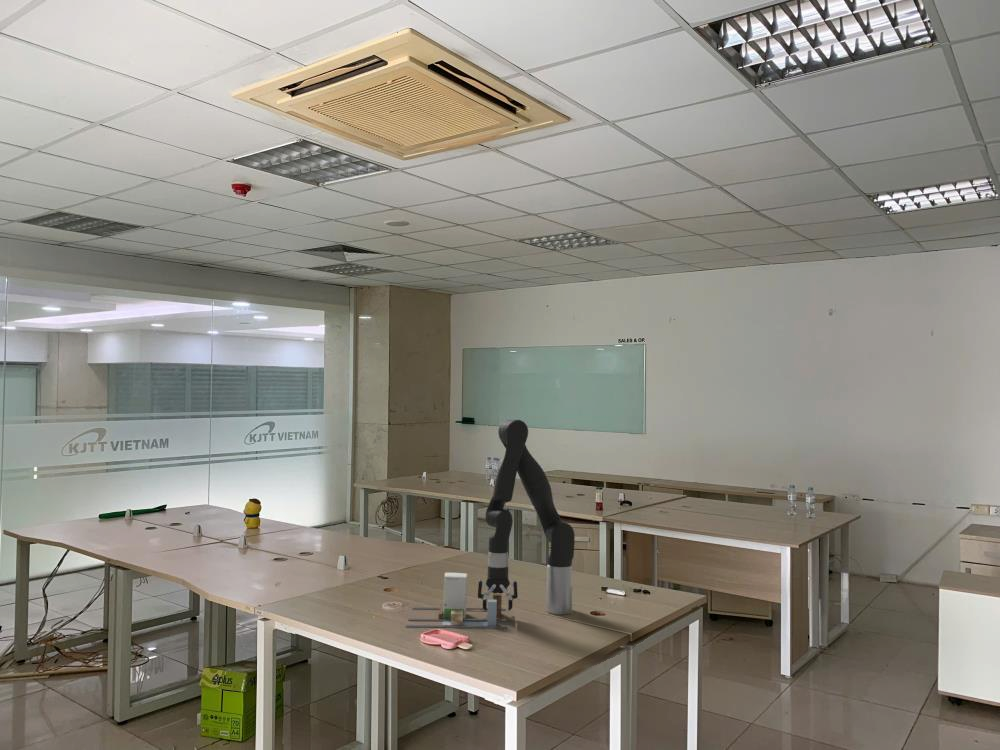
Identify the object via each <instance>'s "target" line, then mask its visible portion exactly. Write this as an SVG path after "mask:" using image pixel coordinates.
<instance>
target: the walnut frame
mask: <svg viewBox="0 0 1000 750" xmlns="http://www.w3.org/2000/svg"><path fill="white" fill-rule="evenodd" d="M502 597H503V596H502V594H501V593H492V600H497V613H496V619H501V618H502V610H501V608H502V605H503V603H502V601H503V600H502ZM439 607H440V610H438V611H439V612H438V619H451V618H443V603H441V604H440V606H439ZM466 612H488V610H466ZM463 619H472V618H469V617H468V618H466V617H465V618H463Z"/></svg>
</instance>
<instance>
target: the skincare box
mask: <svg viewBox="0 0 1000 750" xmlns="http://www.w3.org/2000/svg"><path fill="white" fill-rule="evenodd" d="M443 581H444V582H443V597H442V600H443V601H442V604H443V618H451V611H452V610H463V618H466V614H467V613H466V612H467V611H466V608H467V595H468V594H467V593H468V592H467V591H468V573H465V572H463V573H462V572H445V573H444V580H443Z"/></svg>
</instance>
